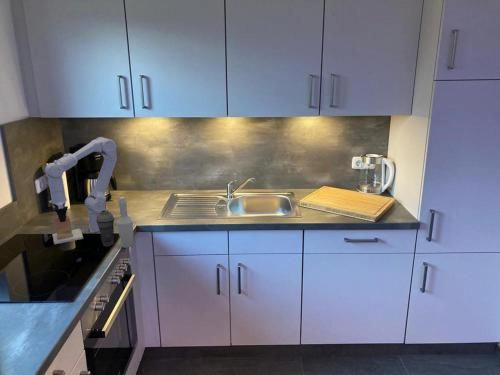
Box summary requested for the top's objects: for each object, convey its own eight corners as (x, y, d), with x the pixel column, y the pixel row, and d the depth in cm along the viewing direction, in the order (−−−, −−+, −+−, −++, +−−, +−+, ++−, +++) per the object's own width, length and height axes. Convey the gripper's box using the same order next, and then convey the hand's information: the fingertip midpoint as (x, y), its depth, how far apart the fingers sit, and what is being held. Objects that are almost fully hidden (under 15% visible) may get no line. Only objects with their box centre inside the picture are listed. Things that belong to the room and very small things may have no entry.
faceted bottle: (137, 242, 180) (131, 195, 174) (132, 248, 174) (126, 200, 168) (122, 242, 181) (116, 195, 174) (118, 249, 175) (111, 200, 168)
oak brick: (57, 236, 187) (55, 227, 185) (71, 233, 189) (69, 224, 188) (58, 239, 183) (56, 230, 182) (72, 236, 186) (70, 227, 185)
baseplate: (80, 230, 195) (79, 228, 195) (83, 238, 186) (82, 236, 186) (52, 235, 190) (52, 233, 190) (54, 244, 181) (53, 242, 180)
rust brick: (55, 227, 185) (54, 218, 184) (69, 224, 188) (68, 215, 187) (56, 230, 182) (54, 221, 181) (70, 227, 185) (69, 218, 183)
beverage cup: (106, 240, 184) (100, 197, 178) (120, 241, 182) (115, 199, 176) (96, 246, 177) (89, 203, 171) (110, 248, 175) (104, 204, 169)
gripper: (46, 187, 184) (51, 215, 188) (48, 196, 172) (53, 226, 176) (63, 185, 187) (68, 212, 191) (66, 193, 175) (71, 222, 179)
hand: (62, 219), depth 184 cm, fingers open, 7 cm apart
